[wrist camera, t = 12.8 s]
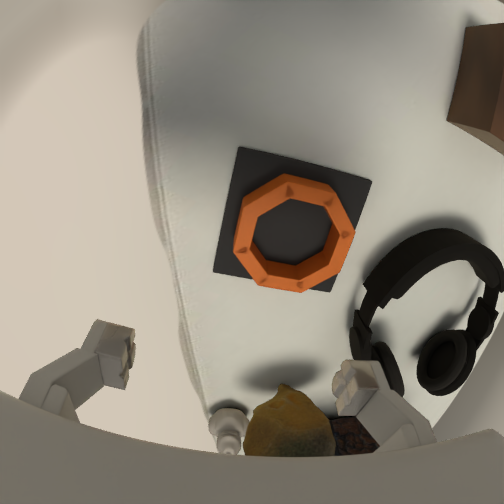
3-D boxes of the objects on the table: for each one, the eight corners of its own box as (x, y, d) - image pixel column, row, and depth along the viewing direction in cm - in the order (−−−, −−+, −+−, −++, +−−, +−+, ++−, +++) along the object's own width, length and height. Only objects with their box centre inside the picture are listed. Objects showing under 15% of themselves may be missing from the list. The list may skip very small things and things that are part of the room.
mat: (238, 146, 23) (238, 147, 22) (370, 180, 24) (372, 181, 24) (213, 269, 28) (212, 272, 27) (329, 290, 29) (330, 292, 29)
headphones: (348, 432, 28) (386, 257, 20) (333, 383, 35) (351, 224, 28) (475, 397, 28) (532, 246, 21) (449, 360, 35) (487, 222, 28)
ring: (250, 165, 23) (251, 172, 21) (356, 192, 24) (367, 201, 22) (227, 264, 27) (226, 280, 25) (323, 282, 28) (329, 297, 26)
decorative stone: (320, 362, 34) (346, 479, 21) (321, 391, 37) (342, 496, 24) (237, 374, 35) (236, 493, 21) (247, 402, 37) (249, 508, 24)
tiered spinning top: (251, 401, 37) (252, 454, 30) (247, 425, 40) (248, 473, 33) (209, 399, 37) (205, 452, 30) (210, 424, 40) (207, 471, 33)
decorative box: (396, 394, 40) (267, 421, 38) (448, 502, 23) (296, 556, 21) (350, 467, 55) (262, 485, 53) (374, 539, 38) (277, 564, 35)
